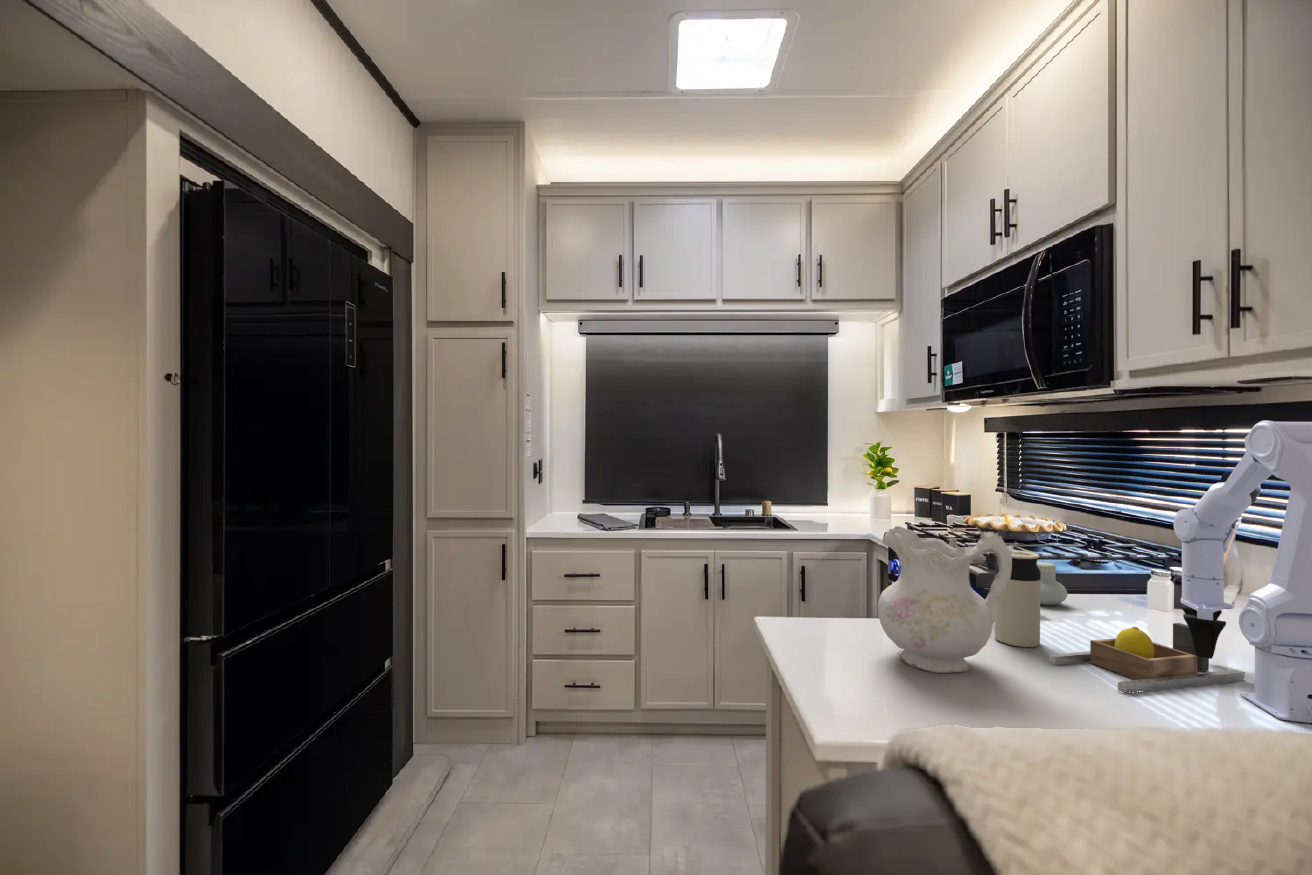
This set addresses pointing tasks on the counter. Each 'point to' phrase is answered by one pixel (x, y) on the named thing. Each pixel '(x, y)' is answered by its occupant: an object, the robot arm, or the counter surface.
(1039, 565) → the air freshener
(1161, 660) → the wooden tray
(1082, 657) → the lane rails
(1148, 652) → the lemon
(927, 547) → the ceramic pitcher
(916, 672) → the counter surface
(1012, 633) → the travel mug
